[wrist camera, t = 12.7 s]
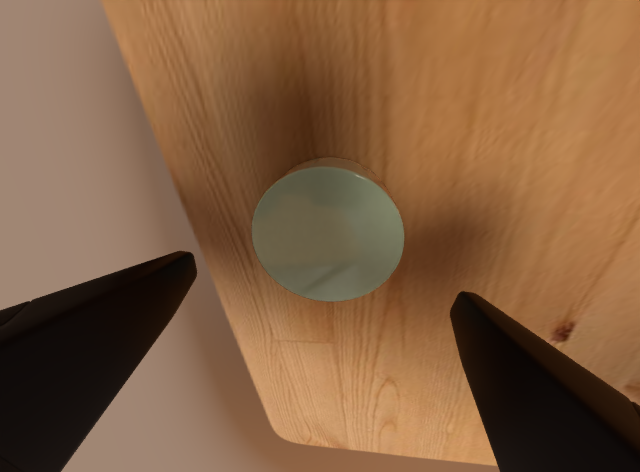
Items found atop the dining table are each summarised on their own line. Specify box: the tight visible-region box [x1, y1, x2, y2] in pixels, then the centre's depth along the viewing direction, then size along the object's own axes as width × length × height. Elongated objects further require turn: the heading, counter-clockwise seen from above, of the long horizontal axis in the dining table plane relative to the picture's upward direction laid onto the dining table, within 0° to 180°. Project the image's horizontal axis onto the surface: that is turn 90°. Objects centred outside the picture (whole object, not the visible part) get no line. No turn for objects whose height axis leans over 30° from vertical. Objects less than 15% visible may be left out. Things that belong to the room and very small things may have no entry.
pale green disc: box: [252, 157, 405, 302], centre depth 11 cm, size 7×7×2 cm
